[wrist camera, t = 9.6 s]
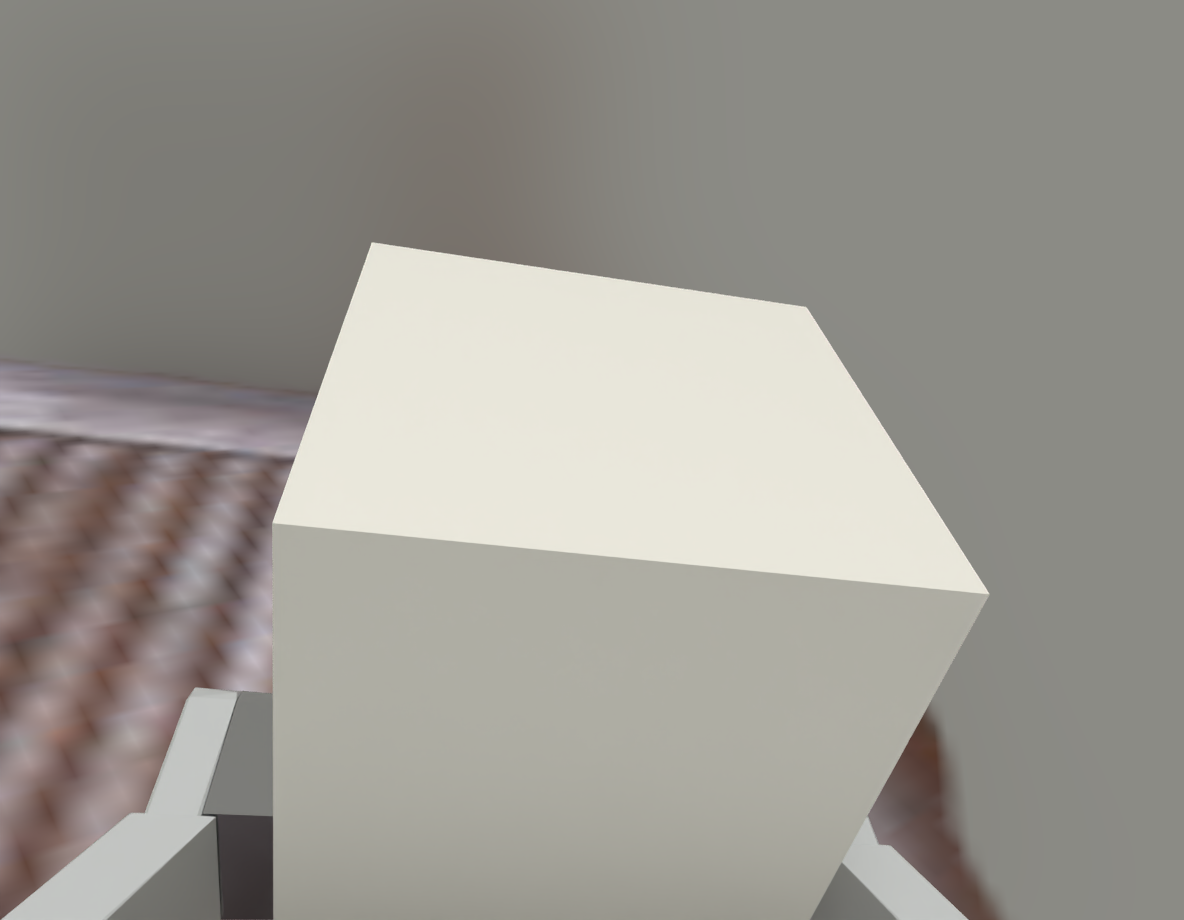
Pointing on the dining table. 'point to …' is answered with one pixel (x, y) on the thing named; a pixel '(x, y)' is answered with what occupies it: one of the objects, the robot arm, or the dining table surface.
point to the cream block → (591, 605)
